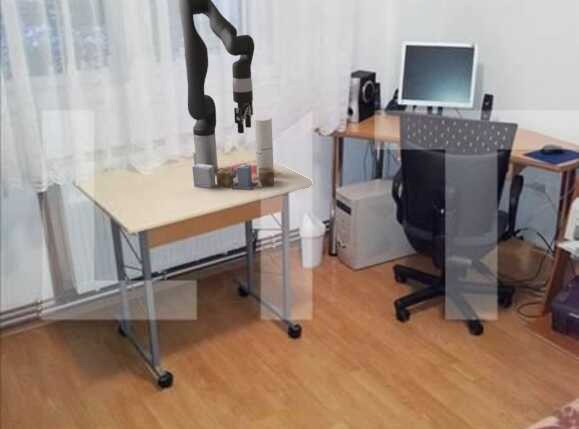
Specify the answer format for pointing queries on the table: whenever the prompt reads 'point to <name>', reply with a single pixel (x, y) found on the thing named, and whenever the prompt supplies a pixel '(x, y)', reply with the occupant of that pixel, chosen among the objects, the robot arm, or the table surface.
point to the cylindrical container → (263, 142)
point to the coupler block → (244, 175)
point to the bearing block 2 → (266, 176)
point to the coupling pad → (244, 187)
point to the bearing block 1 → (225, 177)
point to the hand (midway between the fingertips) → (244, 130)
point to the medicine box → (204, 175)
